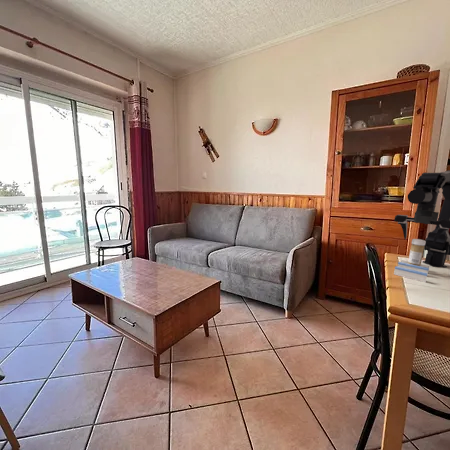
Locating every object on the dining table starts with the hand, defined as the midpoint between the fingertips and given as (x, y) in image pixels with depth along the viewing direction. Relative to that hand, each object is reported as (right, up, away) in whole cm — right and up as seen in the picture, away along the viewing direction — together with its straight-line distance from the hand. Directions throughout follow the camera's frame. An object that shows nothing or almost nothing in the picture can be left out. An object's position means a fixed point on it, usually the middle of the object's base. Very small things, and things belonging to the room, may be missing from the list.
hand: (418, 241), depth 99 cm
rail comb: (-2, -13, +1) cm, 13 cm away
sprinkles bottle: (+1, -13, +4) cm, 13 cm away
